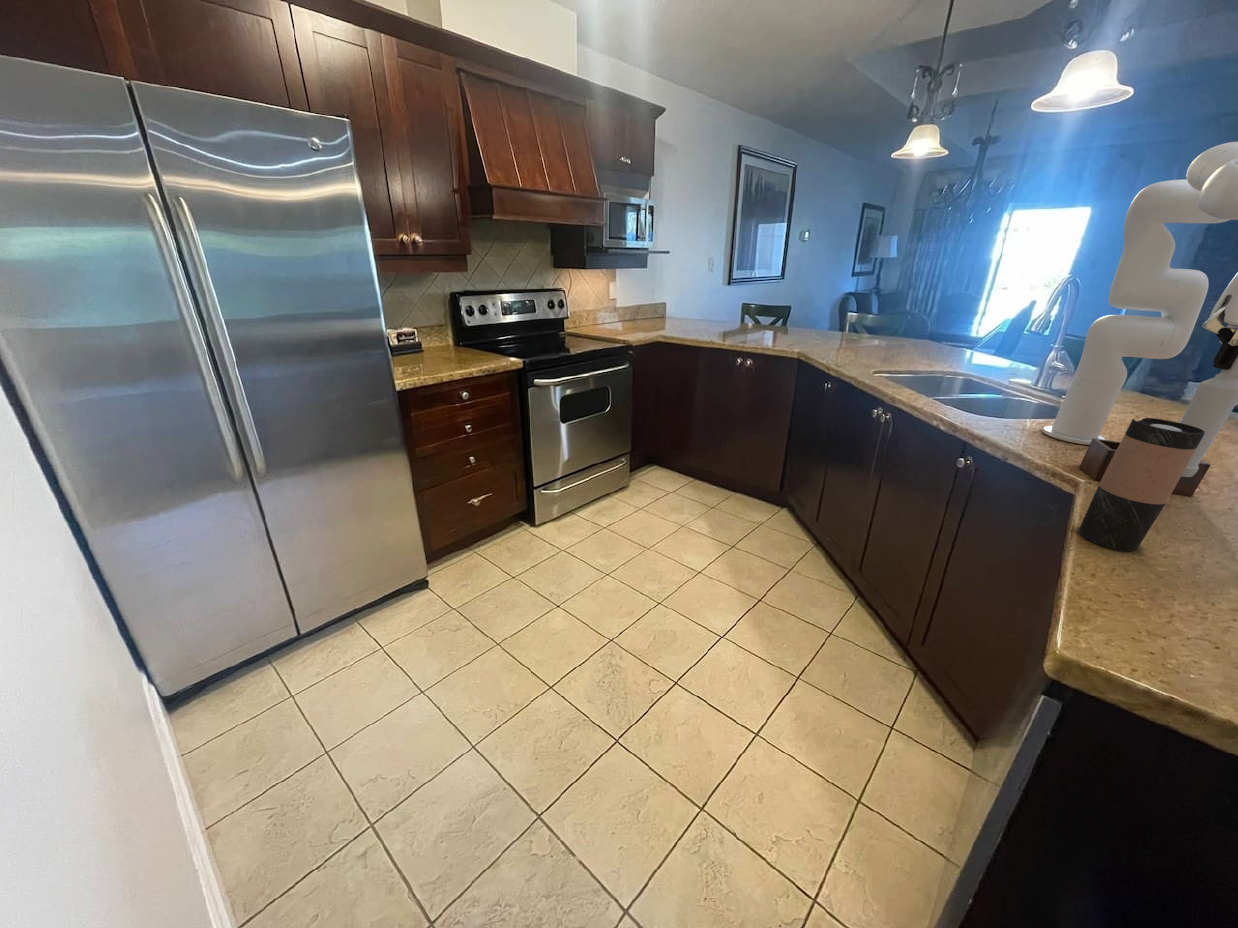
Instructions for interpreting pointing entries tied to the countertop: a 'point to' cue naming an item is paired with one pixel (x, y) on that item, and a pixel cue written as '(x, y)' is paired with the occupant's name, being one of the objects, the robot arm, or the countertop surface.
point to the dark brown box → (1103, 453)
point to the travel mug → (1139, 482)
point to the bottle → (1211, 411)
